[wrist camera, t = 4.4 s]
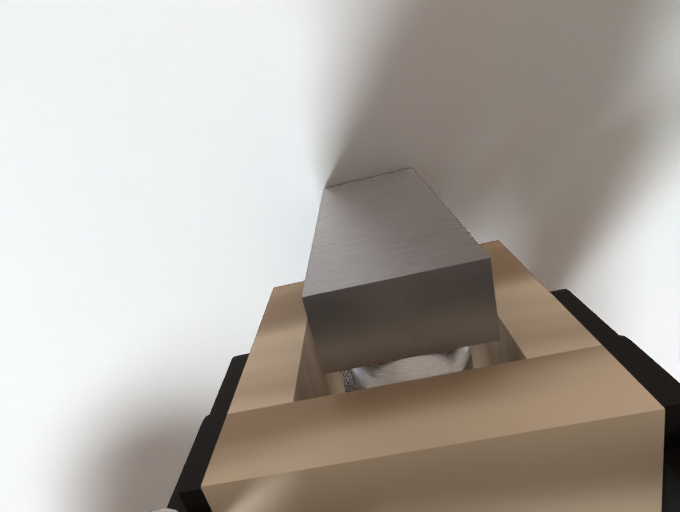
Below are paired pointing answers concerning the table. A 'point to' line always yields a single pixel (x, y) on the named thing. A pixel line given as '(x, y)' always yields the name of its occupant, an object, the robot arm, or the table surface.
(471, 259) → the grey long flanged piece
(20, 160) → the table surface
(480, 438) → the sleeve
